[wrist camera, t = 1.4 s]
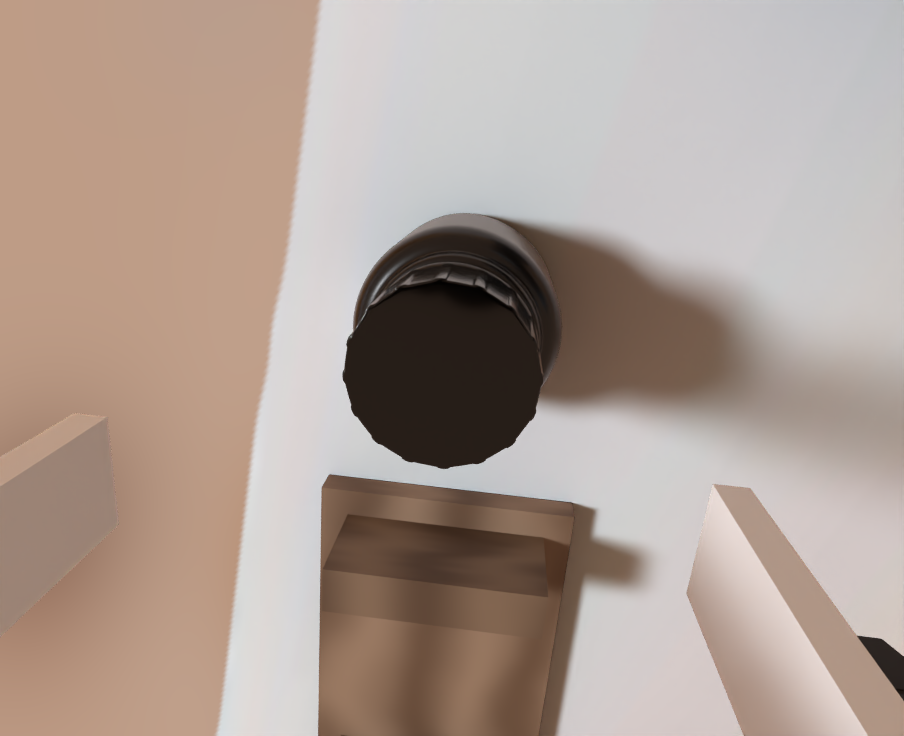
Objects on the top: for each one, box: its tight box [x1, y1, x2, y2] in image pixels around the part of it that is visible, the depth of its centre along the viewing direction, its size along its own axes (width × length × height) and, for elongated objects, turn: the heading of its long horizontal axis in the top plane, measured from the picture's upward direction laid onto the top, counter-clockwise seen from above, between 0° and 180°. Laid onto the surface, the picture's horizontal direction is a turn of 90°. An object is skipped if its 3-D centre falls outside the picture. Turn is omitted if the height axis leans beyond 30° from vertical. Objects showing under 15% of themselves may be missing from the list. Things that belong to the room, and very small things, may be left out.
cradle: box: [318, 475, 575, 736], centre depth 37 cm, size 14×22×6 cm, turn 175°
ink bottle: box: [343, 213, 562, 469], centre depth 27 cm, size 10×9×12 cm
